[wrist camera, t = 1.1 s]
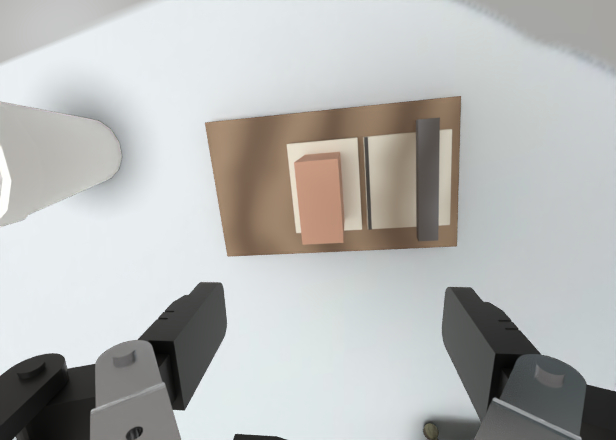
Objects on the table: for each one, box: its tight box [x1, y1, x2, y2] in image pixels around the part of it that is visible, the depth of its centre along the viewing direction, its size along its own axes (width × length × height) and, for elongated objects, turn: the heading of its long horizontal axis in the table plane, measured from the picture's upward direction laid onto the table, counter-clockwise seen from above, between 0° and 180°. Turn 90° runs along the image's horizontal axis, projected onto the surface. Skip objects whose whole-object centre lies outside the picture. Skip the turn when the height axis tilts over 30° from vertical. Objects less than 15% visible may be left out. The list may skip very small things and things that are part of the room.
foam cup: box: [0, 102, 122, 227], centre depth 28 cm, size 10×9×13 cm
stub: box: [287, 137, 362, 245], centre depth 27 cm, size 6×8×7 cm
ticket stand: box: [205, 96, 461, 256], centre depth 30 cm, size 22×13×4 cm, turn 96°
